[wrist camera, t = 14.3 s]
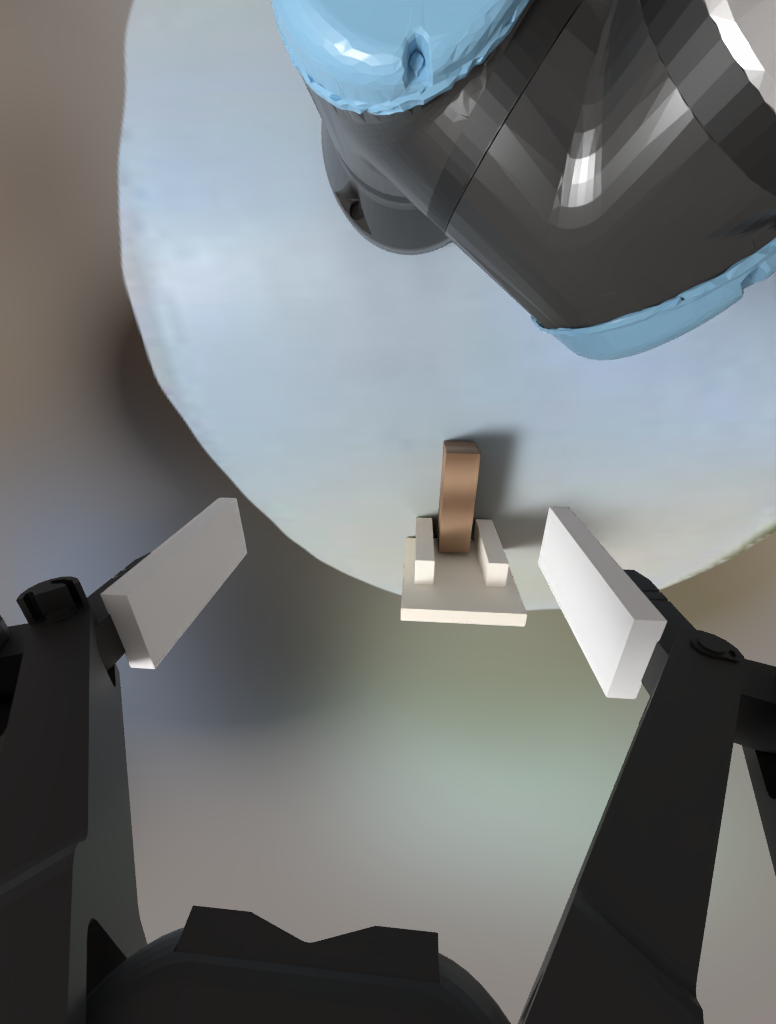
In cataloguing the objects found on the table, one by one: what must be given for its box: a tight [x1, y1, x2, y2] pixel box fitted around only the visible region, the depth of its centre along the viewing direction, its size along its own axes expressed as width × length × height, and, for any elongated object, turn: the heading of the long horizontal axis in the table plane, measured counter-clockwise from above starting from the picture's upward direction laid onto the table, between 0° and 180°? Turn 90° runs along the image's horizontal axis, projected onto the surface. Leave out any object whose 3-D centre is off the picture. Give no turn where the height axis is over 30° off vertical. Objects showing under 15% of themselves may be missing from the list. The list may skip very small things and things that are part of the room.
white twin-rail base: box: [401, 517, 527, 626], centre depth 42 cm, size 4×12×14 cm, turn 90°
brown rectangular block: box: [437, 441, 481, 553], centre depth 43 cm, size 12×4×5 cm, turn 0°
